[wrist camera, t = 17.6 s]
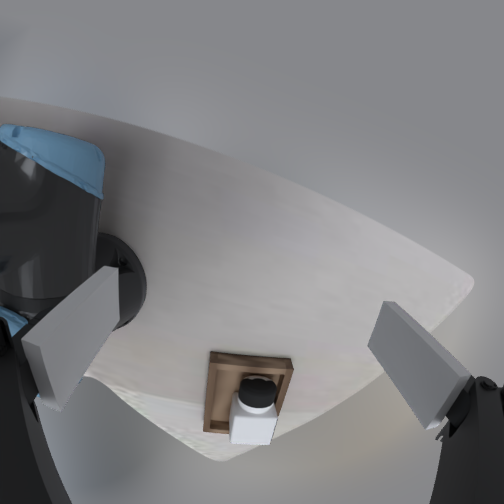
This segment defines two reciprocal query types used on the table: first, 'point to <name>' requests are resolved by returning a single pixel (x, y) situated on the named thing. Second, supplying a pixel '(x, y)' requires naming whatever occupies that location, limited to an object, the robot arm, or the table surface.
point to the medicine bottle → (253, 411)
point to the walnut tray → (228, 381)
